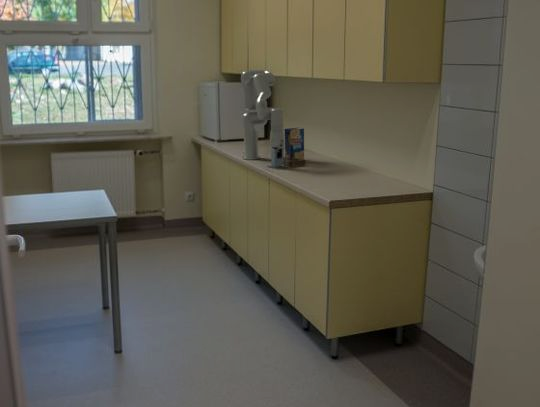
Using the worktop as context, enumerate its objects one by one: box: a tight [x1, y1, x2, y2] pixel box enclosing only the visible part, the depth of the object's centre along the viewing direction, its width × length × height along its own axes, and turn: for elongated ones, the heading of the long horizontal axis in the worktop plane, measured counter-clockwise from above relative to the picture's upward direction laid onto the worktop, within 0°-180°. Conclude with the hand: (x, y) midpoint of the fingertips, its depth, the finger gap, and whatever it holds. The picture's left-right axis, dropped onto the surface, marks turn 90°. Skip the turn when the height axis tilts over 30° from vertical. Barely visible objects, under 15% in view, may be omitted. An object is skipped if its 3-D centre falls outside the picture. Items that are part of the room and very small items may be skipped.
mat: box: [266, 164, 290, 170], centre depth 380 cm, size 12×8×1 cm
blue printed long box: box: [284, 127, 305, 160], centre depth 399 cm, size 7×11×22 cm, turn 123°
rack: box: [283, 157, 306, 168], centre depth 387 cm, size 16×11×4 cm
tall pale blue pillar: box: [270, 148, 285, 166], centre depth 378 cm, size 4×7×10 cm, turn 123°
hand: (277, 157), depth 378 cm, fingers closed on tall pale blue pillar, 3 cm apart
